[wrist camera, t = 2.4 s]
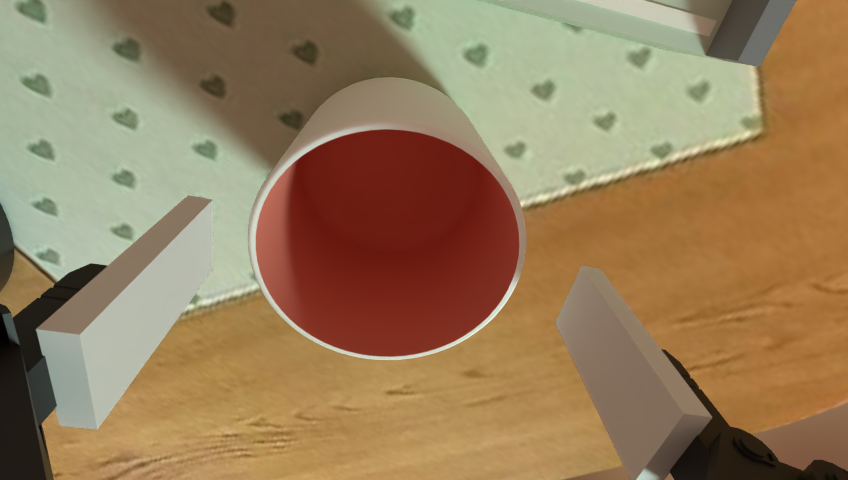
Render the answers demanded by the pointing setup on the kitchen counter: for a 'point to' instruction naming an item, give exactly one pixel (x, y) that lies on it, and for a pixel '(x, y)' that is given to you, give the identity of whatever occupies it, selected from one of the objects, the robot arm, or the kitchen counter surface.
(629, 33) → the dock
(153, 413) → the kitchen counter surface
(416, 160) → the cup
